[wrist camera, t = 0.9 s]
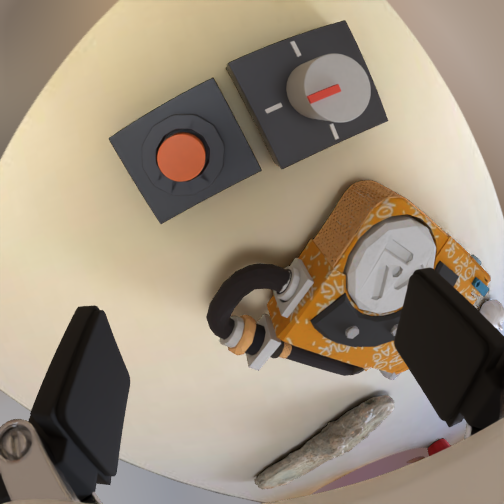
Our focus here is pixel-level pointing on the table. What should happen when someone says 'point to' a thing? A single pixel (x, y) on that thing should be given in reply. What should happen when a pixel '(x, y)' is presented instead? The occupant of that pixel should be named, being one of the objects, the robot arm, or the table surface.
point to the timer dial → (329, 88)
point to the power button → (181, 157)
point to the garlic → (493, 313)
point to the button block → (202, 126)
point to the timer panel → (276, 100)
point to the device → (345, 287)
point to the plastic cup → (438, 446)
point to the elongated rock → (329, 442)
